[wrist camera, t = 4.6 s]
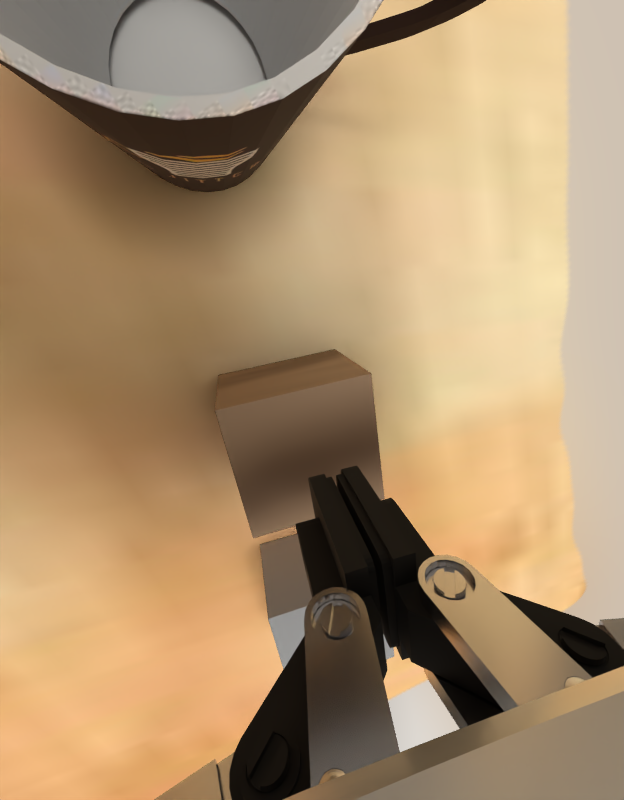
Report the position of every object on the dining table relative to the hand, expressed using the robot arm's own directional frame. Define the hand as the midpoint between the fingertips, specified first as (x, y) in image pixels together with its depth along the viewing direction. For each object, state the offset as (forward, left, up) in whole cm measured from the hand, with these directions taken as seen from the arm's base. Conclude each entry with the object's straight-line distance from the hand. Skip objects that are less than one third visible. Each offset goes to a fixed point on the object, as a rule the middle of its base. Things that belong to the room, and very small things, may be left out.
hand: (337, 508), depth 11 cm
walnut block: (0, 0, -8) cm, 8 cm away
